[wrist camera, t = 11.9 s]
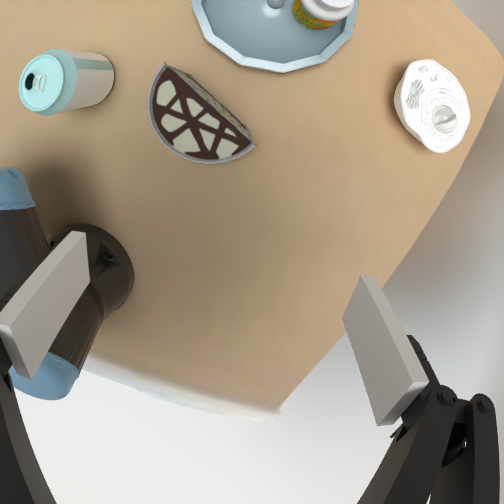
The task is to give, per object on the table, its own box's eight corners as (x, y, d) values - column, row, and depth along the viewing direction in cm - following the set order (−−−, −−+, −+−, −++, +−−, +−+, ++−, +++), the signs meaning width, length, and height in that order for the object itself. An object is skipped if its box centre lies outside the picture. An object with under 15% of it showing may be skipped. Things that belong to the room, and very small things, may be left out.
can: (79, 114, 34) (26, 130, 24) (63, 70, 31) (7, 73, 20) (123, 90, 33) (77, 95, 23) (106, 44, 30) (57, 34, 19)
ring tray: (185, 59, 32) (180, 57, 29) (214, -62, 23) (212, -71, 21) (334, 86, 34) (341, 87, 31) (358, -33, 25) (365, -40, 23)
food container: (147, 104, 34) (116, 110, 25) (181, 66, 32) (160, 60, 23) (219, 168, 39) (211, 194, 30) (255, 134, 37) (258, 149, 28)
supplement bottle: (283, 19, 29) (296, -2, 20) (300, -15, 26) (317, -44, 18) (326, 38, 30) (352, 24, 21) (342, 4, 27) (371, -18, 19)
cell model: (427, 50, 30) (455, 48, 24) (458, 128, 35) (487, 138, 29) (368, 75, 33) (391, 74, 27) (405, 156, 38) (430, 170, 32)
